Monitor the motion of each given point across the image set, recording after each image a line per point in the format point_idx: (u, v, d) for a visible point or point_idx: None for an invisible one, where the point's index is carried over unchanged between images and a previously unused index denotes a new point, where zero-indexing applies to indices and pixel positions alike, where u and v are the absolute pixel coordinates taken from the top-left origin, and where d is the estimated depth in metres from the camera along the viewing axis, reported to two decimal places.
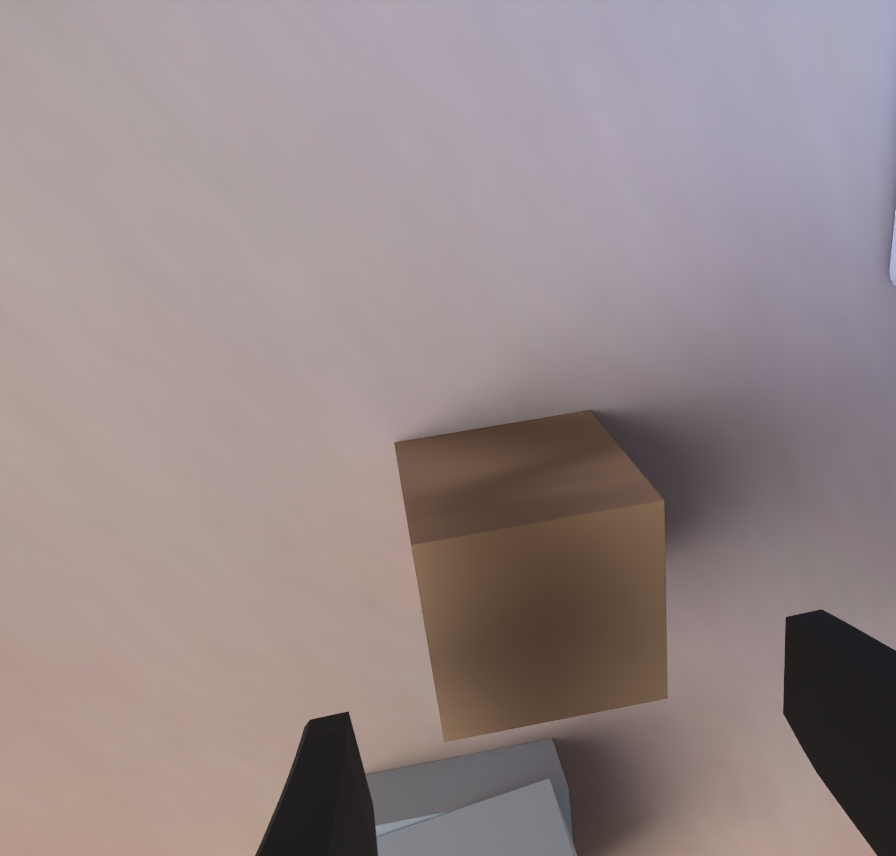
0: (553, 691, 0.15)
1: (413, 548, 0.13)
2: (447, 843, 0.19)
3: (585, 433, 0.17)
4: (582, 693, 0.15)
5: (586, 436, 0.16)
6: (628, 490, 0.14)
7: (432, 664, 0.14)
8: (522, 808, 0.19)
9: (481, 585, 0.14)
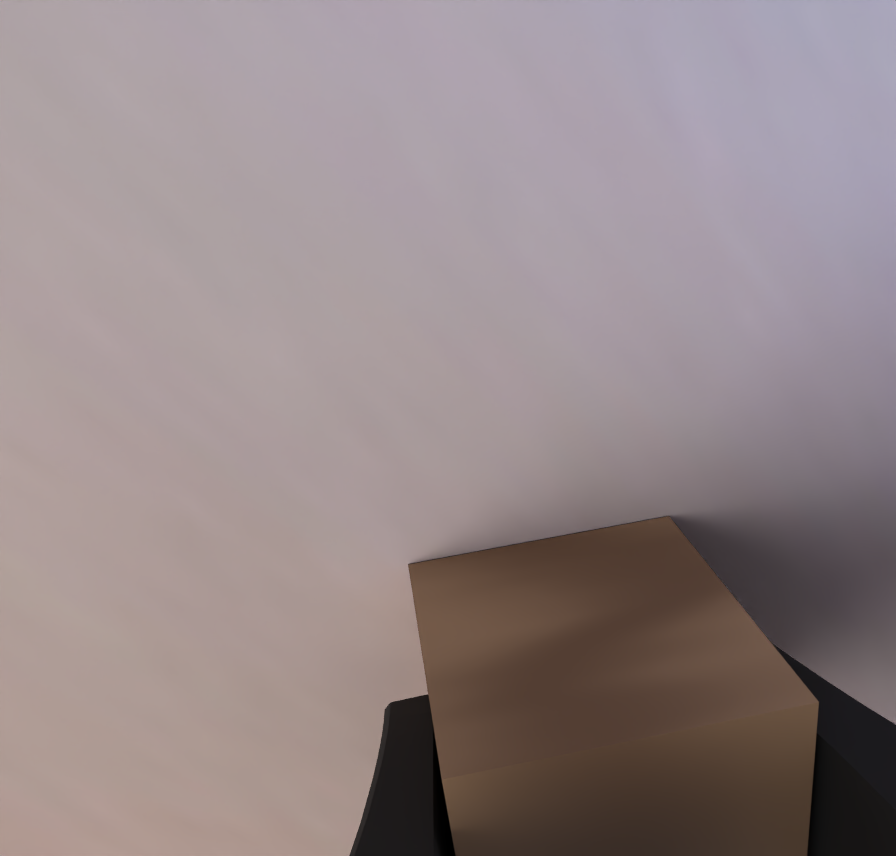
0: None
1: (444, 782, 0.09)
2: None
3: (673, 560, 0.12)
4: None
5: (674, 566, 0.12)
6: (758, 677, 0.10)
7: None
8: None
9: (545, 825, 0.09)
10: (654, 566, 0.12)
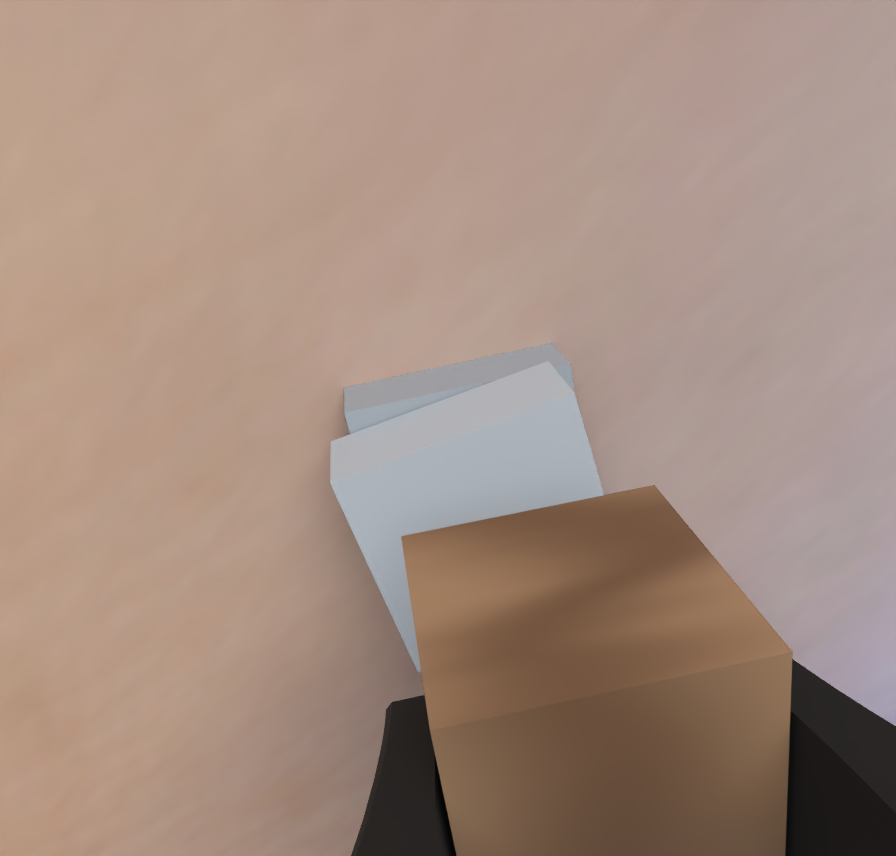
0: None
1: (433, 734, 0.09)
2: None
3: (657, 526, 0.12)
4: None
5: (658, 531, 0.12)
6: (735, 631, 0.10)
7: None
8: None
9: (532, 776, 0.10)
10: (638, 532, 0.12)
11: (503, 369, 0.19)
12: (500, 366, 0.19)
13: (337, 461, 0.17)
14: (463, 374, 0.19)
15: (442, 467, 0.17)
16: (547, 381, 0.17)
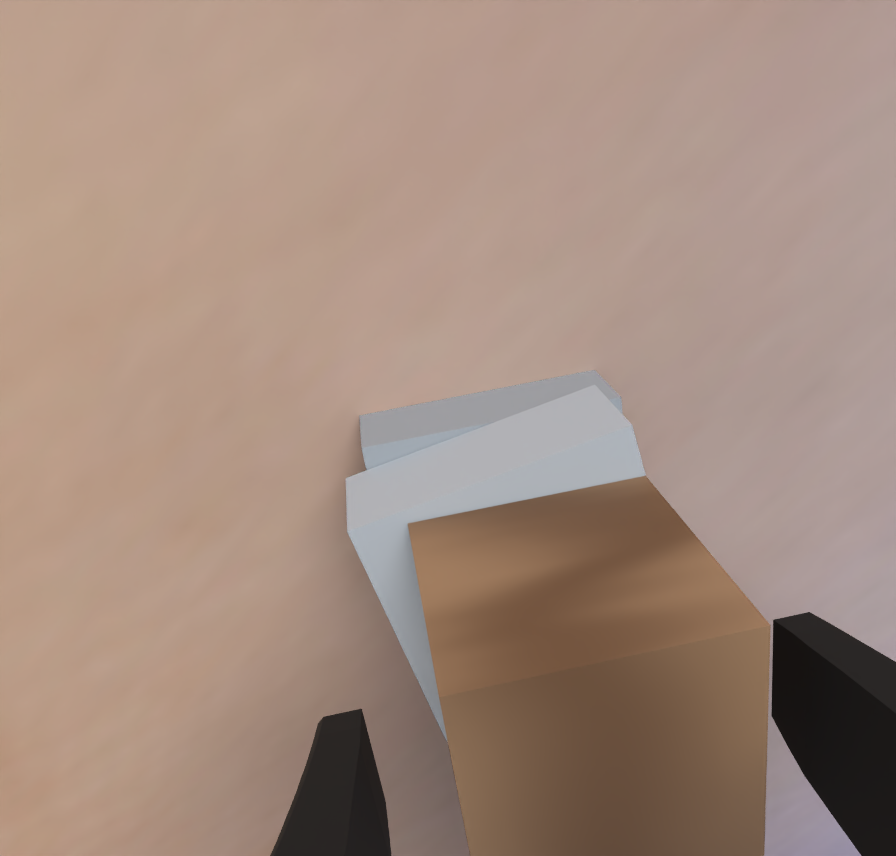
0: None
1: (441, 700, 0.10)
2: None
3: (647, 513, 0.13)
4: (658, 855, 0.12)
5: (649, 518, 0.13)
6: (718, 607, 0.11)
7: (467, 834, 0.11)
8: None
9: (532, 739, 0.11)
10: (630, 518, 0.13)
11: (542, 401, 0.17)
12: (539, 397, 0.17)
13: (354, 503, 0.15)
14: (496, 406, 0.17)
15: None
16: (597, 409, 0.15)
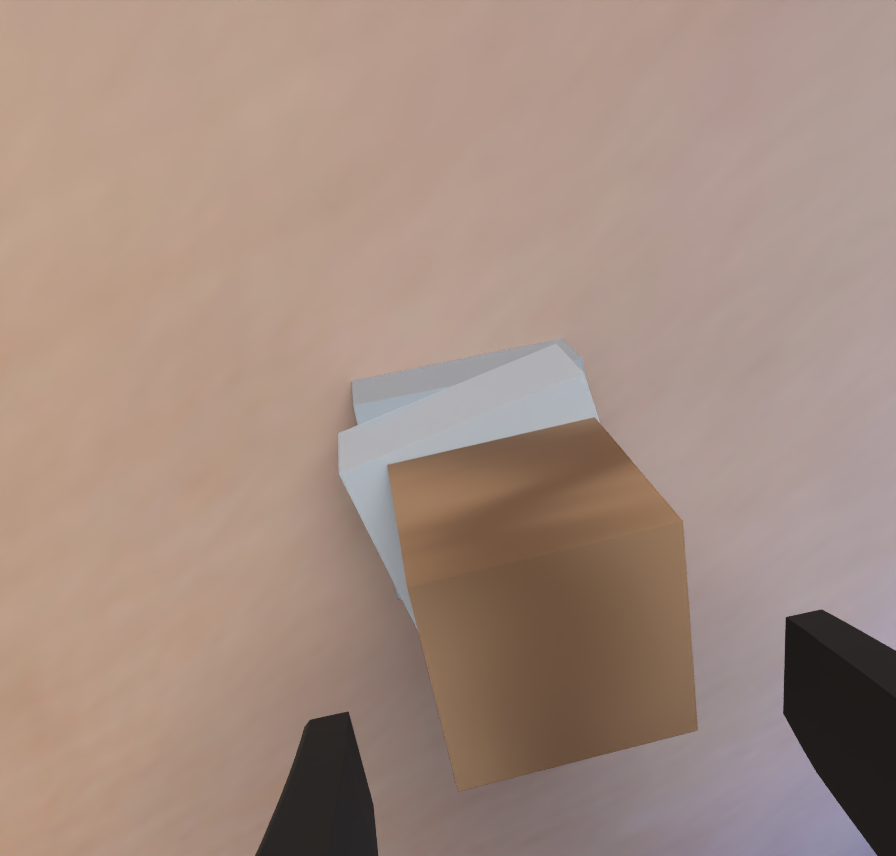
0: (573, 731, 0.14)
1: (409, 590, 0.12)
2: None
3: (592, 445, 0.15)
4: (605, 731, 0.14)
5: (593, 449, 0.15)
6: (642, 511, 0.13)
7: (439, 711, 0.13)
8: None
9: (488, 625, 0.13)
10: (577, 450, 0.15)
11: None
12: (511, 361, 0.19)
13: (345, 452, 0.17)
14: (473, 369, 0.19)
15: None
16: (556, 363, 0.17)
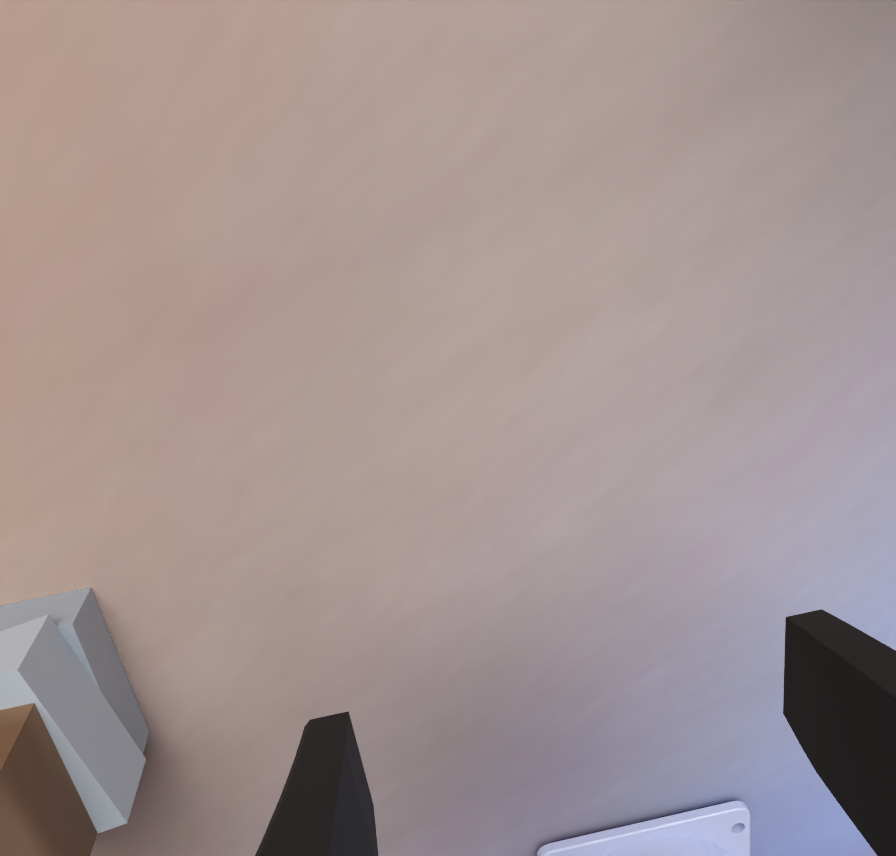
0: None
1: None
2: (89, 710, 0.21)
3: None
4: None
5: None
6: None
7: None
8: (127, 754, 0.22)
9: None
10: None
11: (21, 621, 0.21)
12: (24, 616, 0.21)
13: None
14: None
15: None
16: (21, 645, 0.19)
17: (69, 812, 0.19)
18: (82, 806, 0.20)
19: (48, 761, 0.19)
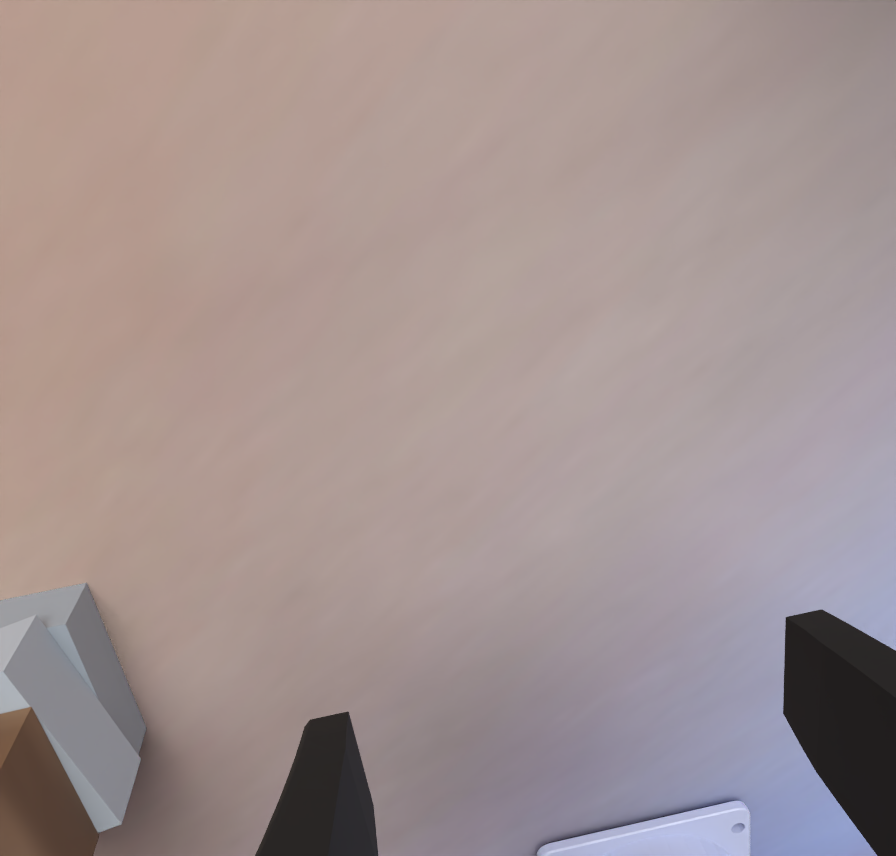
0: None
1: None
2: (80, 710, 0.20)
3: None
4: None
5: None
6: None
7: None
8: (120, 754, 0.21)
9: None
10: None
11: (14, 622, 0.21)
12: (17, 617, 0.21)
13: None
14: None
15: None
16: (7, 646, 0.19)
17: (69, 816, 0.19)
18: (83, 809, 0.20)
19: (47, 765, 0.19)
